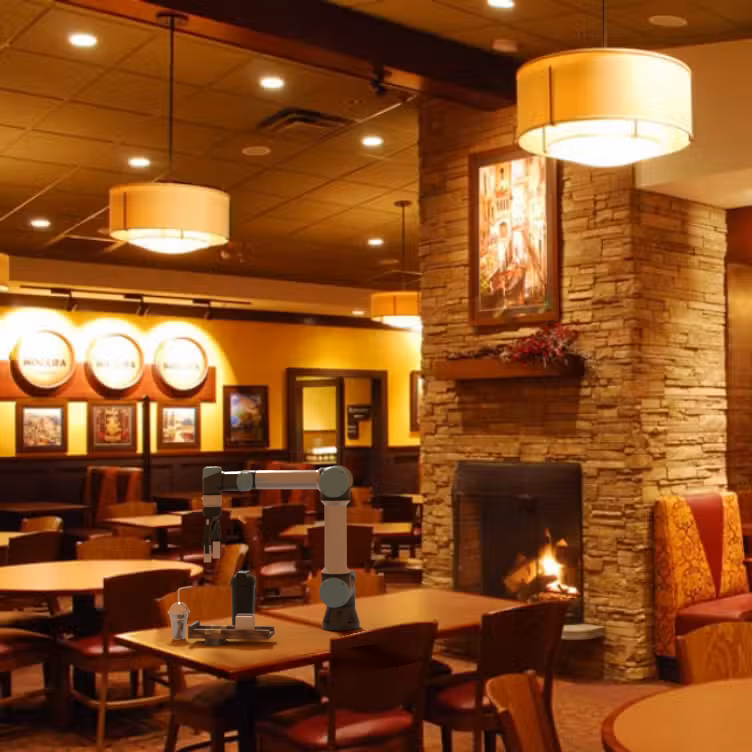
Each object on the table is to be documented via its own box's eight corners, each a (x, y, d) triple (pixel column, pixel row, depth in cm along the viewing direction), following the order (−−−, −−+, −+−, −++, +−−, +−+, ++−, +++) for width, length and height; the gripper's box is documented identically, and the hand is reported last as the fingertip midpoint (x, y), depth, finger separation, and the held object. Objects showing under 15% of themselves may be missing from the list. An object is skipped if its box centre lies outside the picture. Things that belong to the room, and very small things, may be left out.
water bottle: (258, 627, 447) (258, 569, 448) (252, 632, 437) (252, 573, 438) (233, 627, 448) (233, 569, 449) (227, 632, 438) (227, 573, 439)
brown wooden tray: (275, 640, 420) (275, 621, 420) (268, 646, 407) (268, 627, 407) (197, 639, 423) (197, 620, 423) (187, 645, 410) (187, 626, 411)
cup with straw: (176, 635, 430) (176, 583, 431) (195, 637, 426) (195, 584, 427) (162, 639, 423) (163, 586, 424) (182, 641, 419) (182, 587, 420)
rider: (254, 630, 417) (254, 612, 418) (251, 633, 412) (251, 615, 412) (238, 630, 418) (238, 612, 418) (235, 633, 412) (235, 615, 413)
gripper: (211, 503, 453) (211, 556, 452) (194, 508, 428) (194, 563, 427) (229, 503, 452) (229, 556, 451) (213, 508, 428) (213, 563, 427)
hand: (212, 560), depth 439 cm, fingers open, 13 cm apart
